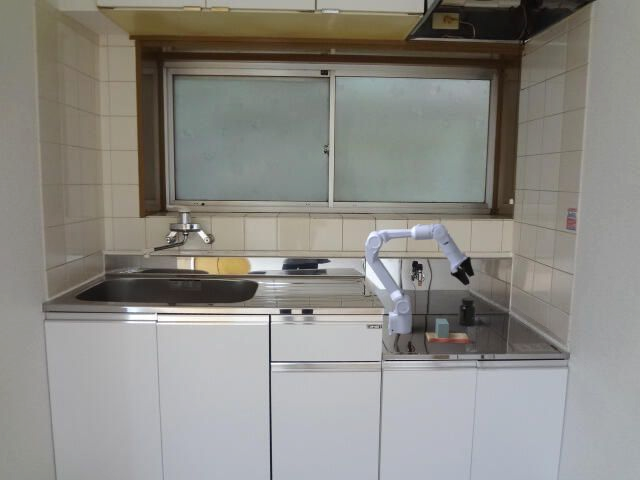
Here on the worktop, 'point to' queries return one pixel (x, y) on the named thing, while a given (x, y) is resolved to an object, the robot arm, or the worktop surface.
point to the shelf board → (449, 338)
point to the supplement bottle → (467, 312)
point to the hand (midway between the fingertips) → (469, 280)
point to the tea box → (442, 328)
